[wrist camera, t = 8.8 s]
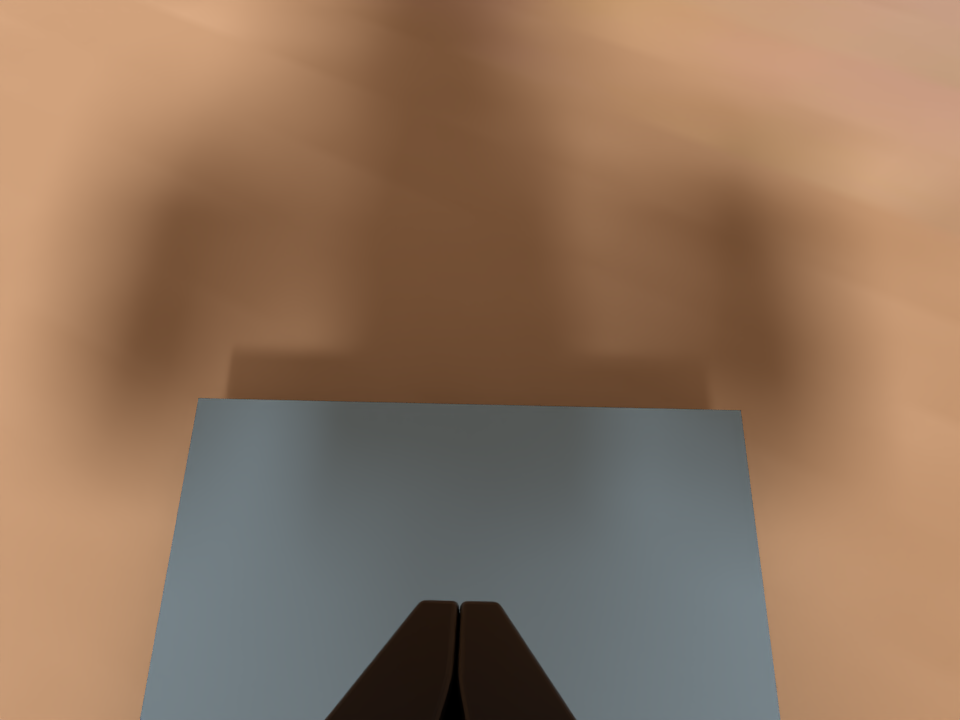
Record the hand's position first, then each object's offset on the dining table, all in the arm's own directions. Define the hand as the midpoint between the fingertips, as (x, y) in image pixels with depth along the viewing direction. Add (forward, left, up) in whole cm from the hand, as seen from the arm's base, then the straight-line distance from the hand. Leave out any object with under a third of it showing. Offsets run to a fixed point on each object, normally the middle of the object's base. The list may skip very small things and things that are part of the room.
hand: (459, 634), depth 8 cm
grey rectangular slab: (-4, 0, -8) cm, 9 cm away
